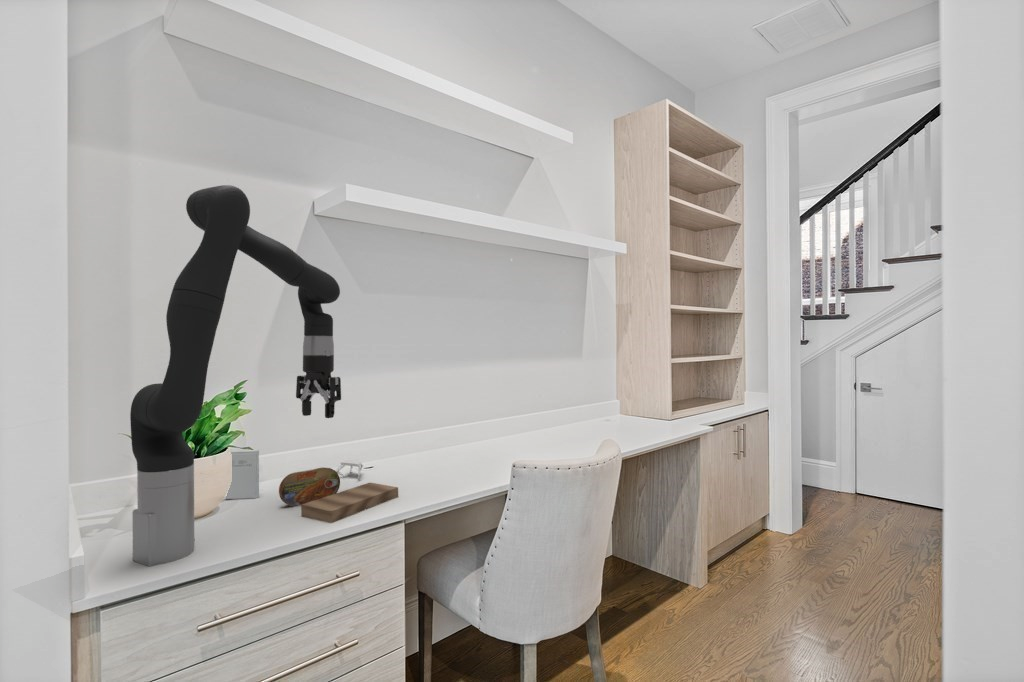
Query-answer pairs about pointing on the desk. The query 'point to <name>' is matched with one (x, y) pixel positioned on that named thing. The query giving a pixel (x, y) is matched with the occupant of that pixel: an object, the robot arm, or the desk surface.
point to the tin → (308, 486)
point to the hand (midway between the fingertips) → (317, 416)
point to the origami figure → (350, 463)
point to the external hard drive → (244, 475)
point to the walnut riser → (348, 502)
